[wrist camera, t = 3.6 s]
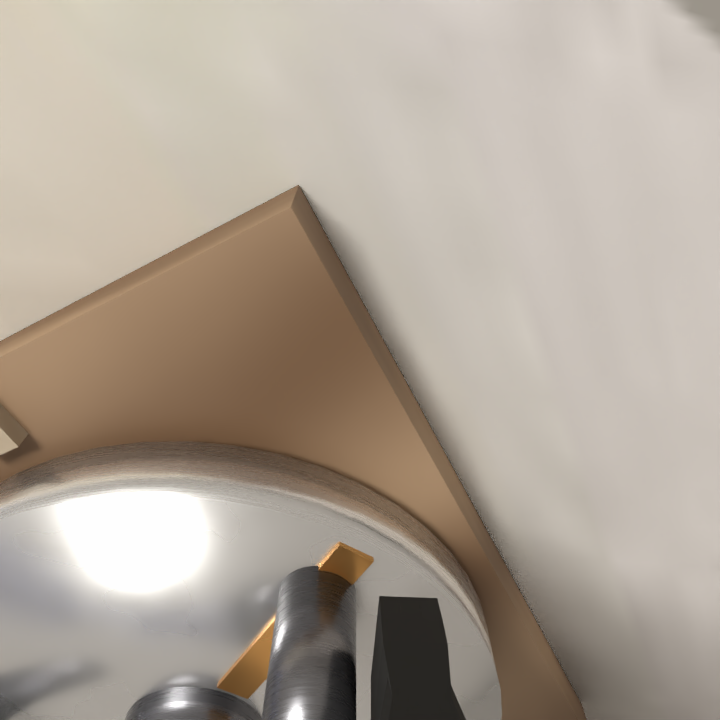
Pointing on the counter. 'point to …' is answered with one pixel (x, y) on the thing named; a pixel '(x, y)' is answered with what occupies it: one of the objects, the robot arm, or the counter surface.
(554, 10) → the counter surface
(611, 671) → the counter surface
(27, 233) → the counter surface
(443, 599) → the capstan dial
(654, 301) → the counter surface
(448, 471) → the tan base board
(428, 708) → the robot arm
